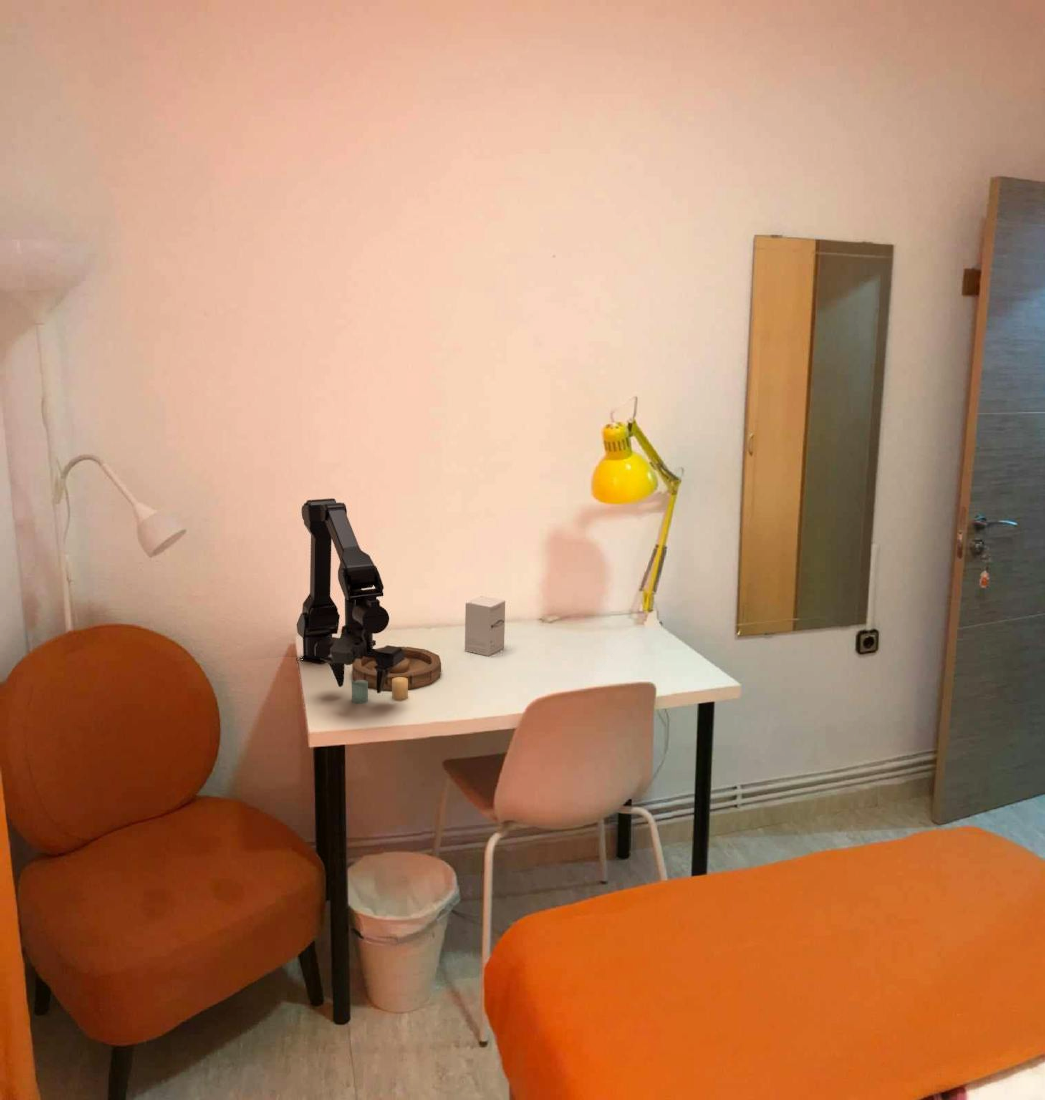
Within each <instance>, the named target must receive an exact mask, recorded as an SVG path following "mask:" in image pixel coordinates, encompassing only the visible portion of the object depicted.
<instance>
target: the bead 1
mask: <svg viewBox="0 0 1045 1100" xmlns="http://www.w3.org/2000/svg"><path fill="white" fill-rule="evenodd" d="M368 701H369V687H368V682H367V681H365V680H356V681H355V680H353V681H352V682H351V702H352V703H354V704H365V703H367V702H368Z"/></svg>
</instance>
